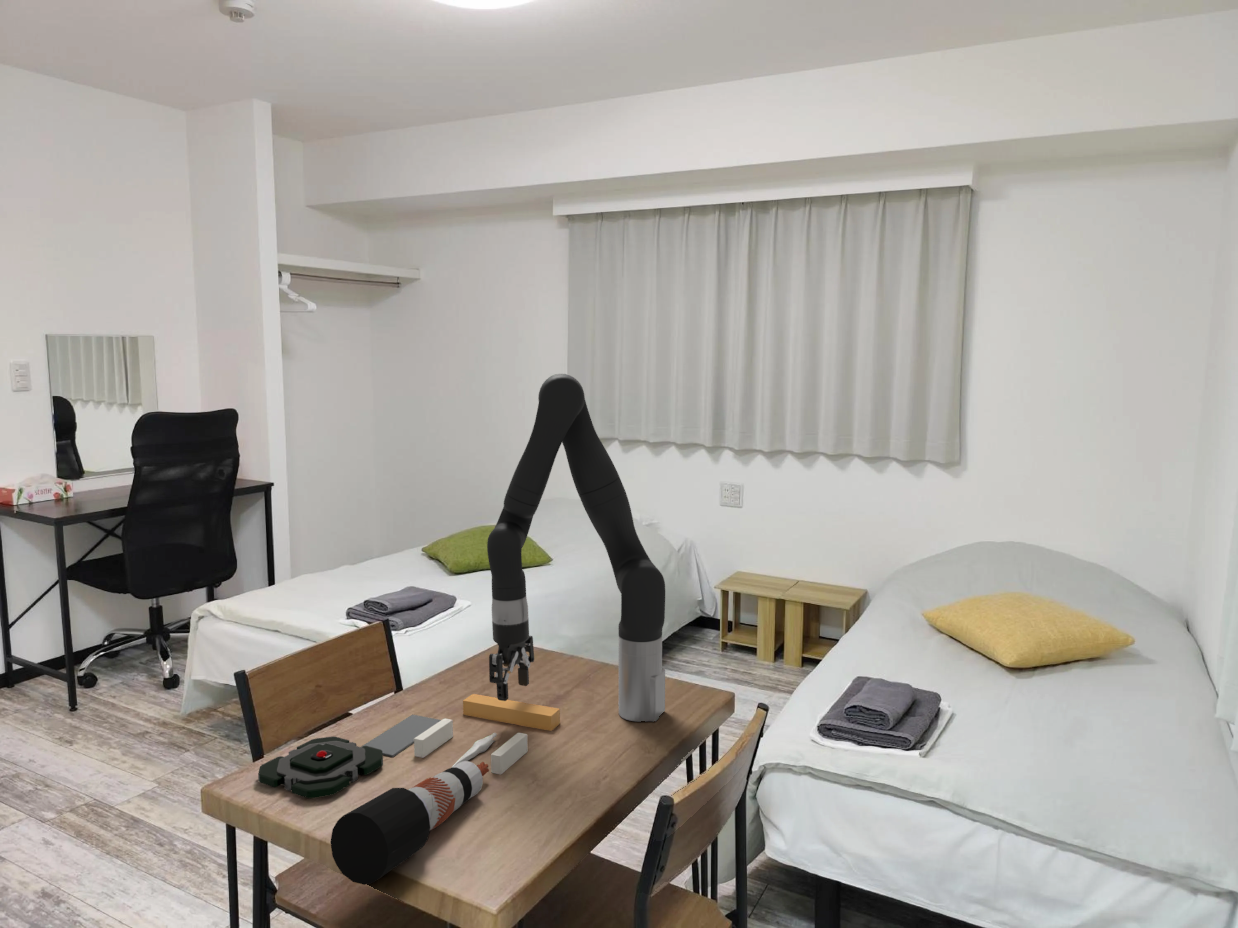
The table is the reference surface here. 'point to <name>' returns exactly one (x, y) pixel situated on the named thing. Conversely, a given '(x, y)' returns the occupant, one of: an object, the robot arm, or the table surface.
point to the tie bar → (512, 712)
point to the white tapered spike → (477, 748)
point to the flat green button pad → (320, 767)
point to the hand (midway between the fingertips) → (513, 692)
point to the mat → (401, 735)
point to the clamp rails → (444, 732)
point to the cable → (400, 822)
